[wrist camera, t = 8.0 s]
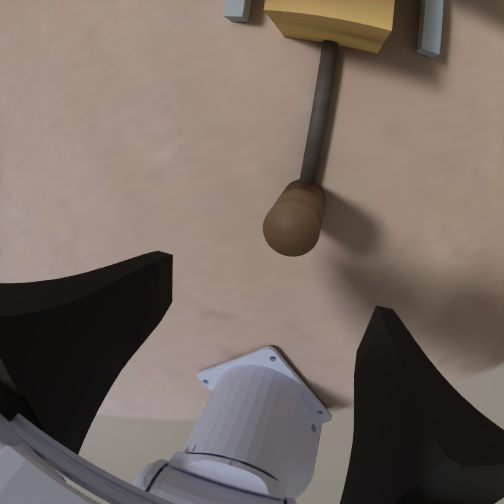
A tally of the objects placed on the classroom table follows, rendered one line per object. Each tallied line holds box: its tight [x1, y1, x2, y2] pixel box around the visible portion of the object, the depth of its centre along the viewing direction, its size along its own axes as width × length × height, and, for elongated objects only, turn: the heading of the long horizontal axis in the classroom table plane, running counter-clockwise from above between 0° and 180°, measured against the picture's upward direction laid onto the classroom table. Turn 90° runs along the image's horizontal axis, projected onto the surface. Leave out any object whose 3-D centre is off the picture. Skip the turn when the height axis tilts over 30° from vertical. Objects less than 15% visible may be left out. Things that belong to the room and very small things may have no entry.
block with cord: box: [263, 0, 395, 257], centre depth 13 cm, size 15×5×5 cm, turn 172°
